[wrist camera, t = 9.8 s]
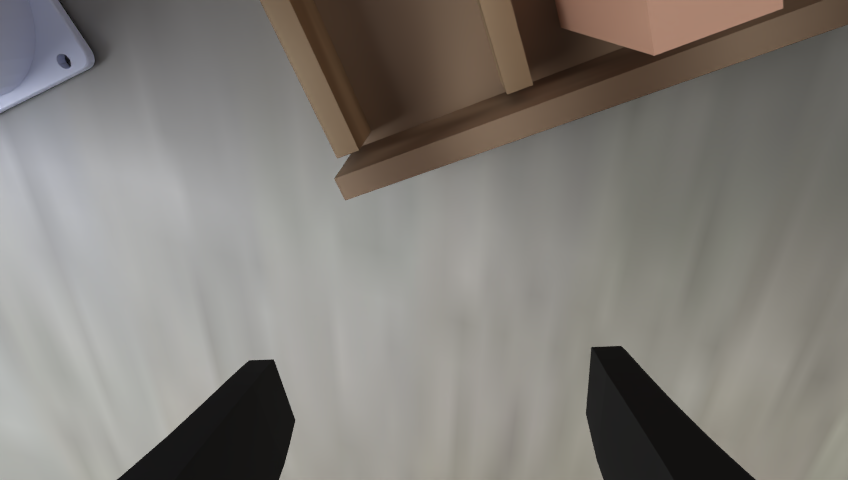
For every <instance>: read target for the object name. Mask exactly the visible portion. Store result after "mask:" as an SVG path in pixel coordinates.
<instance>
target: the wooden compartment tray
mask: <svg viewBox="0 0 848 480" xmlns="http://www.w3.org/2000/svg"><path fill="white" fill-rule="evenodd" d="M260 2H261V4H262V6H263V8H264V10H265V12H266V14H267V16H268V18H269V20H270V22H271V24H272V26H273V28H274V30H275V32H276V35H277V37H278V39H279V41H280V43H281V45H282V47H283V49H284V51H285V53H286V55H287V57H288V59H289V61H290V63H291V65H292V67H293V69H294V71H295V73H296V75H297V77H298V79H299V81H300V83H301V85H302V87H303V90H304V92H305V94H306V96H307V98H308V100H309V102H310V104H311V106H312V108H313V110H314V112H315V114H316V116H317V118H318V120H319V122H320V124H321V126H322V128H323V130H324V132H325V134H326V136H327V138H328V140H329V142H330V145H331V147H332V149H333V151H334V153H335V155H336V157H337V158H340V157H343V156H345V155H348V154H351V155H350V156H349V158H348V159H347V161H346V162H345V164H344V165H343V167H342V168H341V170H340V171H339V172H338V174H337V175H336V177H335V178H334V179H335V181H336V183H337V185H338V187H339V189H340V191H341V193H342V195H343V197H344V199H345V200H348V199H351V198H353V197H356V196H359V195H362V194H365V193H368V192H371V191H373V190H376V189H379V188H382V187H385V186H388V185H391V184H393V183H396V182H399V181H402V180H405V179H408V178H411V177H413V176H416V175H419V174H422V173H425V172H428V171H431V170H433V169H436V168H439V167H442V166H445V165H448V164H451V163H453V162H456V161H459V160H462V159H465V158H468V157H471V156H473V155H476V154H479V153H482V152H485V151H488V150H491V149H493V148H496V147H499V146H502V145H505V144H508V143H511V142H513V141H516V140H519V139H522V138H525V137H528V136H531V135H533V134H536V133H539V132H542V131H545V130H548V129H551V128H553V127H556V126H559V125H562V124H565V123H568V122H571V121H573V120H576V119H579V118H582V117H585V116H588V115H591V114H593V113H596V112H599V111H602V110H605V109H608V108H611V107H613V106H616V105H619V104H622V103H625V102H628V101H631V100H633V99H636V98H639V97H642V96H645V95H648V94H651V93H653V92H656V91H659V90H662V89H665V88H668V87H670V86H673V85H676V84H679V83H682V82H685V81H688V80H690V79H693V78H696V77H699V76H702V75H705V74H708V73H710V72H713V71H716V70H719V69H722V68H725V67H728V66H730V65H733V64H736V63H739V62H742V61H745V60H748V59H750V58H753V57H756V56H759V55H762V54H765V53H768V52H770V51H773V50H776V49H779V48H782V47H785V46H788V45H790V44H793V43H796V42H799V41H802V40H805V39H808V38H810V37H813V36H816V35H819V34H822V33H825V32H828V31H830V30H833V29H836V28H839V27H842V26H845V25H848V0H783V9H780V10H777V11H775V12H772V13H769V14H766V15H764V16H761V17H758V18H756V19H753V20H750V21H747V22H745V23H742V24H739V25H737V26H734V27H731V28H728V29H726V30H723V31H720V32H718V33H715V34H712V35H709V36H707V37H704V38H701V39H699V40H696V41H693V42H690V43H688V44H685V45H682V46H680V47H677V48H674V49H671V50H669V51H666V52H663V53H661V54H658V55H655V56H653V55H650V54H647V53H643V52H640V51H637V50H634V49H630V48H627V47H624V46H620V45H617V44H614V43H610V42H607V41H604V40H600V39H597V38H594V37H590V36H587V35H584V34H580V33H577V32H574V31H570V30H567V29H564V28H561V26H560V22H559V17H558V13H557V8H556V4H555V0H260Z"/></svg>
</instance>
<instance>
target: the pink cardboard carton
mask: <svg viewBox="0 0 848 480" xmlns="http://www.w3.org/2000/svg"><path fill="white" fill-rule="evenodd" d="M555 4H556V8H557V13H558V17H559V22H560V26H561V28H564V29H567V30H570V31H574V32H577V33H580V34H584V35H587V36H590V37H594V38H597V39H600V40H604V41H607V42H610V43H614V44H617V45H620V46H624V47H627V48H630V49H634V50H637V51H640V52H643V53H647V54H650V55H653V56H655V55H658V54H661V53H663V52H666V51H669V50H671V49H674V48H677V47H680V46H682V45H685V44H688V43H690V42H693V41H696V40H699V39H701V38H704V37H707V36H709V35H712V34H715V33H718V32H720V31H723V30H726V29H728V28H731V27H734V26H737V25H739V24H742V23H745V22H747V21H750V20H753V19H756V18H758V17H761V16H764V15H766V14H769V13H772V12H775V11H777V10H780V9H783V0H555Z"/></svg>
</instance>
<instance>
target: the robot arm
mask: <svg viewBox="0 0 848 480" xmlns="http://www.w3.org/2000/svg"><path fill="white" fill-rule="evenodd" d="M65 55H66V56H67V57H68V58H69V59H70V61H71V66H69V65H68V64H67V63H66V60H65ZM94 62H95V59H94V54H93V52H92V50H91V49H90V47H89V46H88V44H87V43H86V41H85V40H84V38H83V37H82V35H81V34H80V32H79V31H78V29H77V28H76V26H75V25H74V23H73V22H72V20H71V19H70V17H69V16H68V14H67V13H66V11H65V10H64V8H63V7H62V5H61V4H60V2H59V1H58V0H0V113H2V112H4V111H6V110H8V109H10V108H12V107H14V106H16V105H18V104H20V103H22V102H24V101H26V100H28V99H30V98H32V97H34V96H36V95H38V94H40V93H42V92H44V91H46V90H48V89H50V88H52V87H54V86H56V85H58V84H60V83H62V82H64V81H66V80H68V79H70V78H72V77H74V76H76V75H78V74H80V73H82V72H84V71H86V70H88V69H90V68H91V67H92V66H93V65H94ZM586 416H587V420H588V424H589V429H590V433H591V438H592V442H593V446H594V450H595V454H596V458H597V462H598V465H599V468H600V471H601V473H602V476H603V479H604V480H755V479H754V478H753V477H752V476H751V475H750V474H749V473H747V472H746V471H745V470H744V469H743V468H742V467H741V466H740V465H739V464H738V463H736V462H735V461H734V460H733V459H732V458H731V457H730V456H729V455H728V454H727V453H725V452H724V451H723V450H722V449H721V448H720V447H719V446H718V445H717V444H716V443H715V442H714V441H713V440H712V439H711V438H710V437H708V436H707V435H706V434H705V433H704V432H703V431H702V430H701V429H700V428H699V427H698V426H697V425H696V424H695V423H694V422H693V421H692V420H691V419H690V418H689V417H688V416H687V415H686V414H685V413H684V412H683V411H682V410H681V409H680V408H679V407H678V406H677V405H676V404H675V403H674V402H673V401H672V400H671V399H670V398H669V397H668V396H667V395H666V393H665V392H664V391H663V390H662V389H661V388H660V387H659V386H658V385H657V384H656V383H655V382H654V381H653V380H652V379H651V378H650V376H649V375H648V374H647V373H646V372H645V371H644V370H643V369H642V368H641V367H640V366H639V364H638V363H637V362H636V361H635V360H634V359H633V358H632V357H631V356H630V355H629V353H628V352H627V351H626V350H625V349H624V348H623V347H621V346H610V347H591V360H590V372H589V384H588V396H587V408H586ZM294 423H295V418H294V415H293V413H292V410H291V407H290V404H289V401H288V398H287V396H286V393H285V390H284V387H283V384H282V382H281V379H280V376H279V373H278V370H277V367H276V365H275V362H274V360H250V361H248V362H247V363H246V364H245V365H243V366H242V367H241V368H240V369H239V370H238V371H237V372H236V373H235V374H234V375H232V376H231V377H230V378H229V379H228V380H227V381H226V382H225V383H224V384H223V385H222V386H221V387H220V388H219V389H218V390H217V391H216V392H214V393H213V394H212V395H211V396H210V397H209V398H208V399H207V400H206V401H205V402H204V403H203V404H202V405H201V406H200V407H199V408H197V409H196V410H195V411H194V412H193V413H192V414H191V415H190V416H189V417H188V418H187V419H186V420H185V421H183V422H182V423H181V424H180V425H179V426H178V427H177V428H176V429H175V430H174V431H173V432H172V433H171V434H169V435H168V436H167V437H166V438H165V439H164V440H163V441H161V442H160V443H159V444H158V445H157V446H156V447H155V448H153V449H152V450H151V451H150V452H149V453H148V454H146V455H145V456H144V457H143V458H142V459H141V460H140V461H138V462H137V463H136V464H135V465H134V466H133V467H131V468H130V469H129V470H128V471H127V472H126V473H125V474H123V475H122V476H121V477H120V478H119V479H117V480H279V477H280V475H281V472H282V469H283V467H284V464H285V460H286V456H287V452H288V448H289V445H290V440H291V436H292V432H293V428H294Z"/></svg>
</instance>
